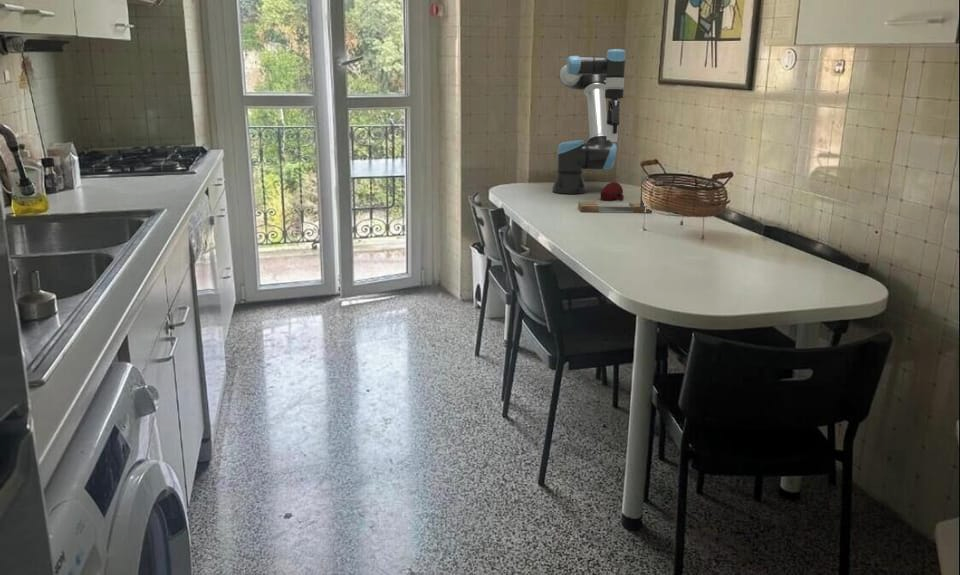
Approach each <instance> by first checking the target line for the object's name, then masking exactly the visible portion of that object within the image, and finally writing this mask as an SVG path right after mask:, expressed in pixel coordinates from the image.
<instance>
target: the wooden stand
mask: <svg viewBox="0 0 960 575" xmlns="http://www.w3.org/2000/svg"><path fill="white" fill-rule="evenodd" d="M647 177H648V178H649V176H648V175H642V176H641V188H640V201H639V202H629V204H628V205H629V206H623V205H622V206H621V205H620V206H617V205H616V206H615V205H614V206H612V205H611V206H607V205H605V206H604V205H599V204H598V203H597V202H596V201H578V202H577V204H578V205H577V208H578V210H579V211H580V213H599V212H615V213H616V212H618V213H619V212H621V213H622V212H628V213H629V212H630V213H634V214H653V209H652V210H650V209H646V213H644V211H645V206H644V203H643V201H642V184H643V182H644V181H646V179H647Z"/></svg>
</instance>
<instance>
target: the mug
mask: <svg viewBox="0 0 960 575" xmlns="http://www.w3.org/2000/svg"><path fill="white" fill-rule="evenodd" d="M623 191H624V189H623V187H622V185H621V184H620V183H618V182H617V181H612V182H608V183H607V184H606V185H605V186H604V187H603V188H602V189H601V191H600V199H601V200H602V201H605V202H610V201H611V202H612V201H615V200H617V201H622V200H624V199H625V198H624V197H625V195H623V193H624V192H623Z"/></svg>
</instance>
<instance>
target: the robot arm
mask: <svg viewBox="0 0 960 575" xmlns="http://www.w3.org/2000/svg"><path fill="white" fill-rule="evenodd" d="M626 59H627V58H626V50H625V49H620V48H614V49H608V50H607V53H606V55H576V54H575V55H570V56H567V60H566V64H565V65H564V66H562V68H561V69H560V70H559V73H558V78H559V81H560V83H561V84H562V85H563V86H565V87H566V88H568V89H572V90H577V91H579V90H581V91H583V94H584V96H586V98H587V99H586V101H587V113H588V114H587V115H588V128H589V129H588V130H589V131H588V132H589V138H588V139H587V141H586V143H585V141H584V139H583V140H582V139H580V140H579V139H577V140H568V141H563V142H560V143H559V144H558V146H557V153H556V154H557V168H556V171H557V172H556V177H555V180H554V183H553V186H552V192H553V193H556V194H571V195H574V194H585V193H586V191H587V188H586V184H585V180H584V177H583V173H584V172H583V170H603V171H604V170H611V169H612V168H613V167H614V166H615V162H616V158H617V157H616V156H617V152H618V149H617V147H618V146H617V142H618V139H619V138H618V137H619V124H620V100H618V99H624V91H625V90H624V87H625V70H626ZM607 99H609V100H608V102H607ZM607 103H608V104H607Z"/></svg>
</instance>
